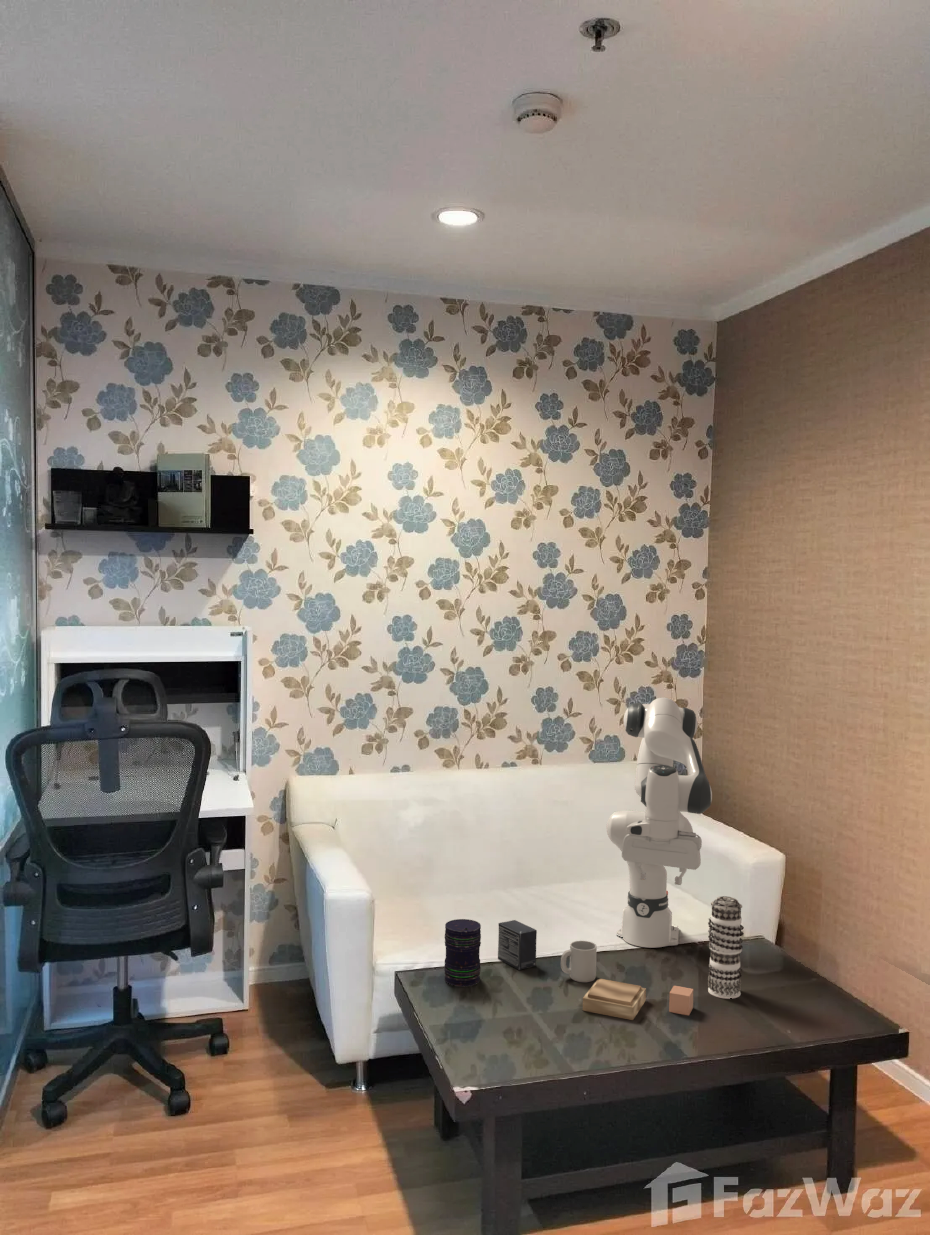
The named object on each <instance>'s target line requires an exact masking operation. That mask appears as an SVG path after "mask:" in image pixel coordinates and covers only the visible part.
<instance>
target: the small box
mask: <svg viewBox="0 0 930 1235" xmlns="http://www.w3.org/2000/svg"><path fill="white" fill-rule="evenodd" d="M537 933H538V932H537V929H535V928H534V927H531V926H528V925H526V924H524V923H522V922H520V921H518V920H516V919H512V920H508V921H507V920H506V921H502V922H498V940H497V942H498V943H497V944H498V945H497V946H498V947H497V948H498V949H497V959H498V961H499V960H500V961H501V962H503V963H504V964H507V965H509V966H511V967H512V968H514V969H516V970H518V971H521V970H524V969H529V968H532V967H536V966H537V937H538V936H537Z"/></svg>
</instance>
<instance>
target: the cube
mask: <svg viewBox="0 0 930 1235" xmlns="http://www.w3.org/2000/svg"><path fill="white" fill-rule="evenodd" d="M668 997H669V998H668V999H669V1000H668V1001H669V1004H668V1012H669V1013H674V1014H679V1015H682V1016H690V1014H691V1012H692V1011H693V1009H694V988H690V987H685V986H679V985H673V986H672V988H671V989H670V991H669V996H668Z"/></svg>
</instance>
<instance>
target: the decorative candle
mask: <svg viewBox="0 0 930 1235" xmlns="http://www.w3.org/2000/svg"><path fill="white" fill-rule="evenodd" d="M710 906H711V914H710V917H709V918H708V922H707V925H708V927H709V929H708V931H707V932H708V935H707V936H708V940H709V943H708V948H709V950H710V957H709V964H707V966H708V970H707V972H708V977H707V980H708V981H707V986H708V988H707V991H708V993H709V994H710V995H712V996H713V997H715V998H720V999H726V1000H731V999H730V998H732V999H736V998H739V997H740V996H741V994H742V993H741V990H742V987H741V986H742V985H741V984H742V981H741V977H742V973H741V972H742V967H741V955H740V954H741V952H743V947H744V946H743V945H742V943H743V938H741V937H743V936H744V932H743V930H744V926H743V925H742V908H743V905H742V904H741V903H740V902H739V900H738V899H736V898H735V897H731V896H725V895H724V896H718V897H716V898H715V899H714V900H713V901H711V902H710Z"/></svg>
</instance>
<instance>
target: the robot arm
mask: <svg viewBox="0 0 930 1235" xmlns="http://www.w3.org/2000/svg"><path fill="white" fill-rule="evenodd" d="M623 726H624V729H625V733H627V735H629V736H630V737H634V738H638V737H639V738H641V741H640V745H639V749H638V754H637V758H636V766H635V768H636V770H635V779H634V790H635V792H636V794H637V796H638V797H640V802H641V803H642V805H644V807H646V809H645V811H644V810H643V811H642V810H631V809H628V810H627V809H626V810H617V811H614V812H613V813H612V814H610V816H609V817H608V819H607V822H606V833H607V835H608V838H609V839H610V842H612V844H614V845H615V846H616V847H617V848H618V850H620V851H621V858H622V859H623V860H624V861H625V862H626V863H627V867H628V875H629V876H628V877H629V878H628V880H629V890H628V892H627V897H626V898H627V906H626V907H625V908H623V909H622V917H621V918H622V919H621V928H620V929H619V930H617V931H616V934H618V935H620V936H622V937H623V938H622V939H623V941H625V942H626V943H628V944H630V945H632V946H637V947H642V948H650V949H651V948H656V949H657V948H662V947H663V948H664V947H668V946H678V945H679V937H680V936H679V935H680V927H679V925H677V927H674V926H672V924H673V912H672V910H671V909H670V907H669V898H668V896H669V892H668V889H667V886H668V885H667V884H668V883H667V880H668V872H667V870H666V867H669V868H678V869H679V873H680V874H679V876H675V878H674V885H676V886H682V884H683V877H684V876H685V874H686V872H687V870H693V871H696V870H697V869H698V868H699V867H700V866H701V849H702V843H703V842H702V838H701V836H699V834H697V833H696V832H694V830H693V826H692V824H691V822H690V820H689V819H688V818H687V817H686V816H685V815H683V813H689V814H695V815H696V814H697V815H701V814H703V813H704V812H706V811H707V810H708V809H709V808H711V804H712V801H713V792H712V791H713V790H712V788H711V787H712V786H711V785H710V781H709V779H708V777H707V774H706V771H705V769H704V765H703V761H702V758H701V754H700V752H699V749H698V746H697V743H696V741H695V739H694V737H695V735H696V733H697V731H698V726H699V725H698V719H697V714H696V712H695V711H694V710H693V709H690V708H688V707H680V706H679V705H678V704H677V703H676V701H674V700H673V699H671V698H668V697H657V698H655V699H653V700H652V701H651V702H649V703H642V702H635V703H631V704H630V705H628V706H627V709H626V710H625V712H624V714H623ZM674 761H675V762H678V763H681V764H683V765H684V766H685V767H686V771H687V774H688V775H687V774H686V775H684V774H683V775H681V774H679V772H678V769H677V768H676V767H674ZM681 812H683V813H681ZM678 927H679V928H678Z"/></svg>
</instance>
